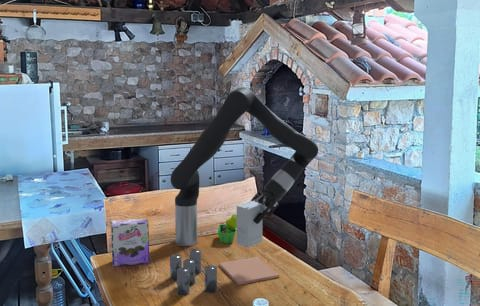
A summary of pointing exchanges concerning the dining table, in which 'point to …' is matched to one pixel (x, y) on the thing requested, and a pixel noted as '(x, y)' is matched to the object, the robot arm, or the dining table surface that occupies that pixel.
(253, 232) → the skincare box
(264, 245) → the dining table surface
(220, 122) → the robot arm
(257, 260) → the terracotta tile
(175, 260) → the posts
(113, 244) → the candy box
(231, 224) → the potted cactus
